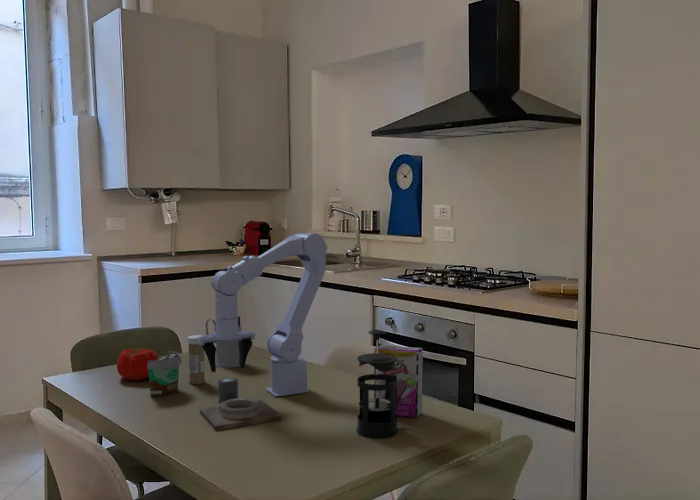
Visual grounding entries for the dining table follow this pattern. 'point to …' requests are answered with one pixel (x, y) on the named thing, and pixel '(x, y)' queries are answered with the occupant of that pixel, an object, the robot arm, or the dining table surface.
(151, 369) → the food container
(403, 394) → the candy bar box
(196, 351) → the sprinkles bottle
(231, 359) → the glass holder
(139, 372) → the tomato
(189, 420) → the dining table surface
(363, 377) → the french press
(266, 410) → the collar
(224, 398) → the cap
